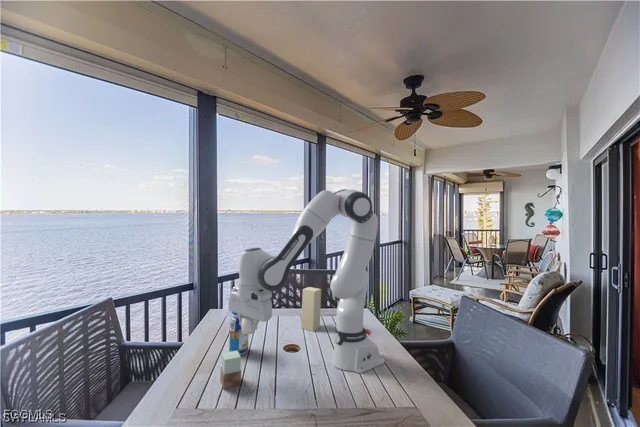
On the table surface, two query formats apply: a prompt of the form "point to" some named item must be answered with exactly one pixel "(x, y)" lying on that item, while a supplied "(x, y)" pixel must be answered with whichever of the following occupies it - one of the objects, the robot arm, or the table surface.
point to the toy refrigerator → (311, 308)
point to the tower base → (230, 379)
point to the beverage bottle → (237, 336)
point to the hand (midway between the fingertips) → (248, 327)
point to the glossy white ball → (247, 325)
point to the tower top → (231, 362)
